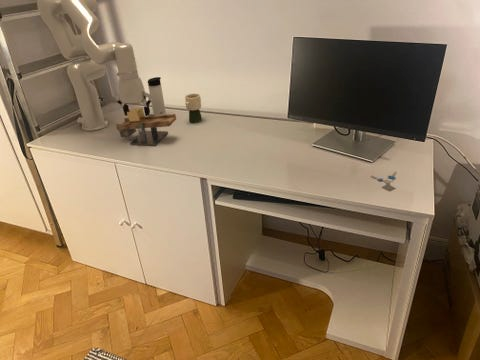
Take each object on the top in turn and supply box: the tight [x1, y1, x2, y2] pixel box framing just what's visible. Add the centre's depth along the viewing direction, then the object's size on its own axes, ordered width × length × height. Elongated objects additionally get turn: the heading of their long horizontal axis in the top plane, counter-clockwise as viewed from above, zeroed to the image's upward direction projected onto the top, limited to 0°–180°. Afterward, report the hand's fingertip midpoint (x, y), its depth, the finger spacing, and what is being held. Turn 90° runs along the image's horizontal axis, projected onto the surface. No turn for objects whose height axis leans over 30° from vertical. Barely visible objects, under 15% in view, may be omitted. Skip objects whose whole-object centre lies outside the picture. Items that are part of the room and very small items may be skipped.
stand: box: [129, 113, 169, 147], centre depth 164 cm, size 12×14×10 cm
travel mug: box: [147, 76, 167, 116], centre depth 186 cm, size 6×7×20 cm
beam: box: [115, 113, 177, 139], centre depth 163 cm, size 25×8×6 cm, turn 77°
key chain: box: [370, 171, 397, 192], centre depth 125 cm, size 14×8×1 cm, turn 158°
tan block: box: [127, 107, 146, 123], centre depth 162 cm, size 5×5×6 cm
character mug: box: [184, 93, 203, 123], centre depth 179 cm, size 11×7×13 cm, turn 148°
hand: (137, 114), depth 161 cm, fingers open, 9 cm apart
